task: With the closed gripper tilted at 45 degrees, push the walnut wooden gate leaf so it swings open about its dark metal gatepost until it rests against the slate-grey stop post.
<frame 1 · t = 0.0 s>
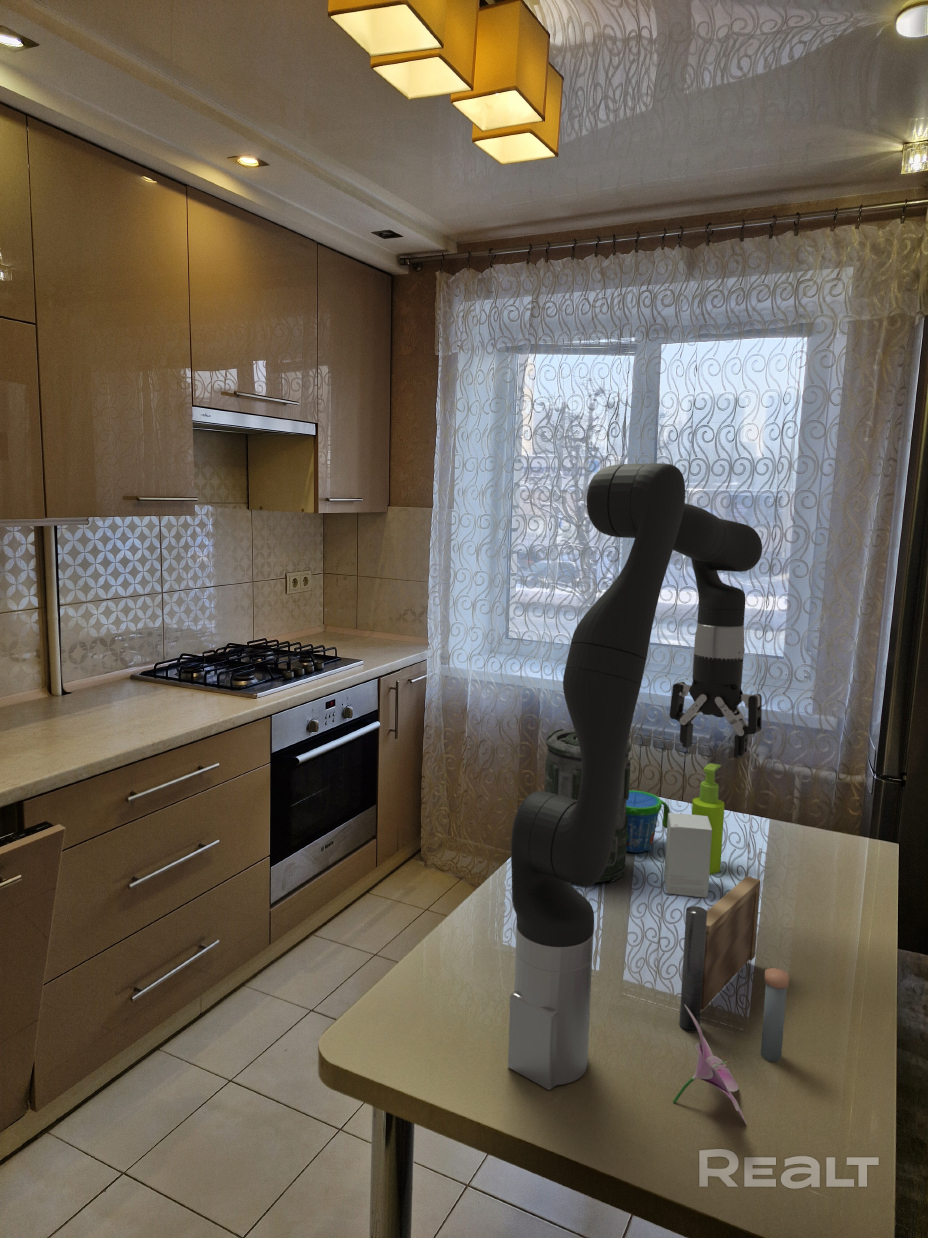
hand: (712, 752, 130), 29 cm above the table, tool pointing down, fingers open, 8 cm apart
lily: (710, 1106, 92), on the table
stop post: (770, 1055, 101), on the table
snack cup: (632, 847, 164), on the table
supplement box: (685, 888, 147), on the table
gatepost: (689, 1026, 106), on the table
gate: (726, 940, 114), point 7 cm above the table, hinge at 0.0°
soap dispenser: (705, 867, 156), on the table
canister: (582, 869, 154), on the table
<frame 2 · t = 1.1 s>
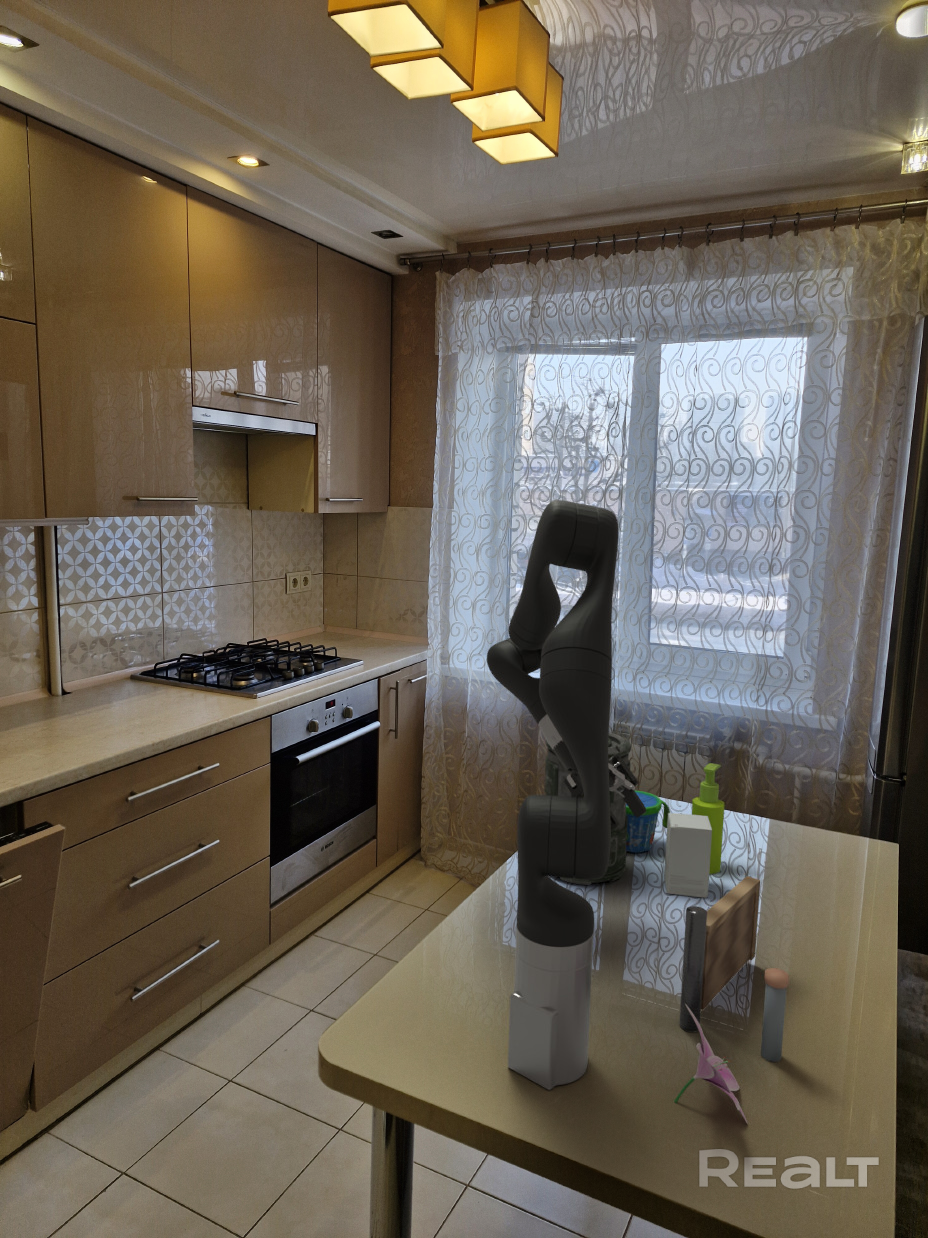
hand: (628, 821, 127), 19 cm above the table, tool tilted 45°, fingers open, 8 cm apart
nothing on the table moved.
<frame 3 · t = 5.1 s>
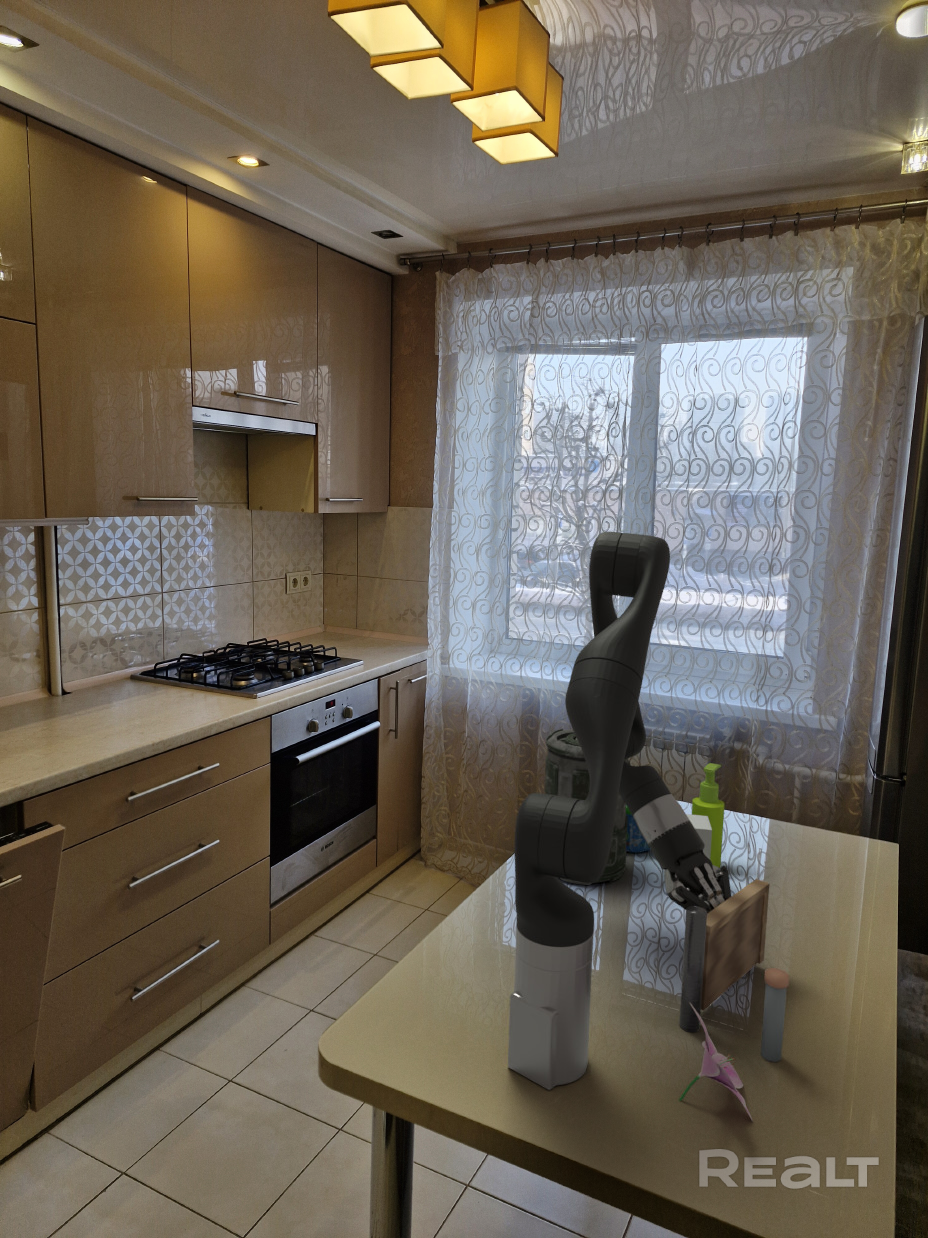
hand: (732, 938, 117), 6 cm above the table, tool tilted 45°, fingers closed
gate: (732, 942, 114), point 7 cm above the table, hinge at 3.9°, touching gripper
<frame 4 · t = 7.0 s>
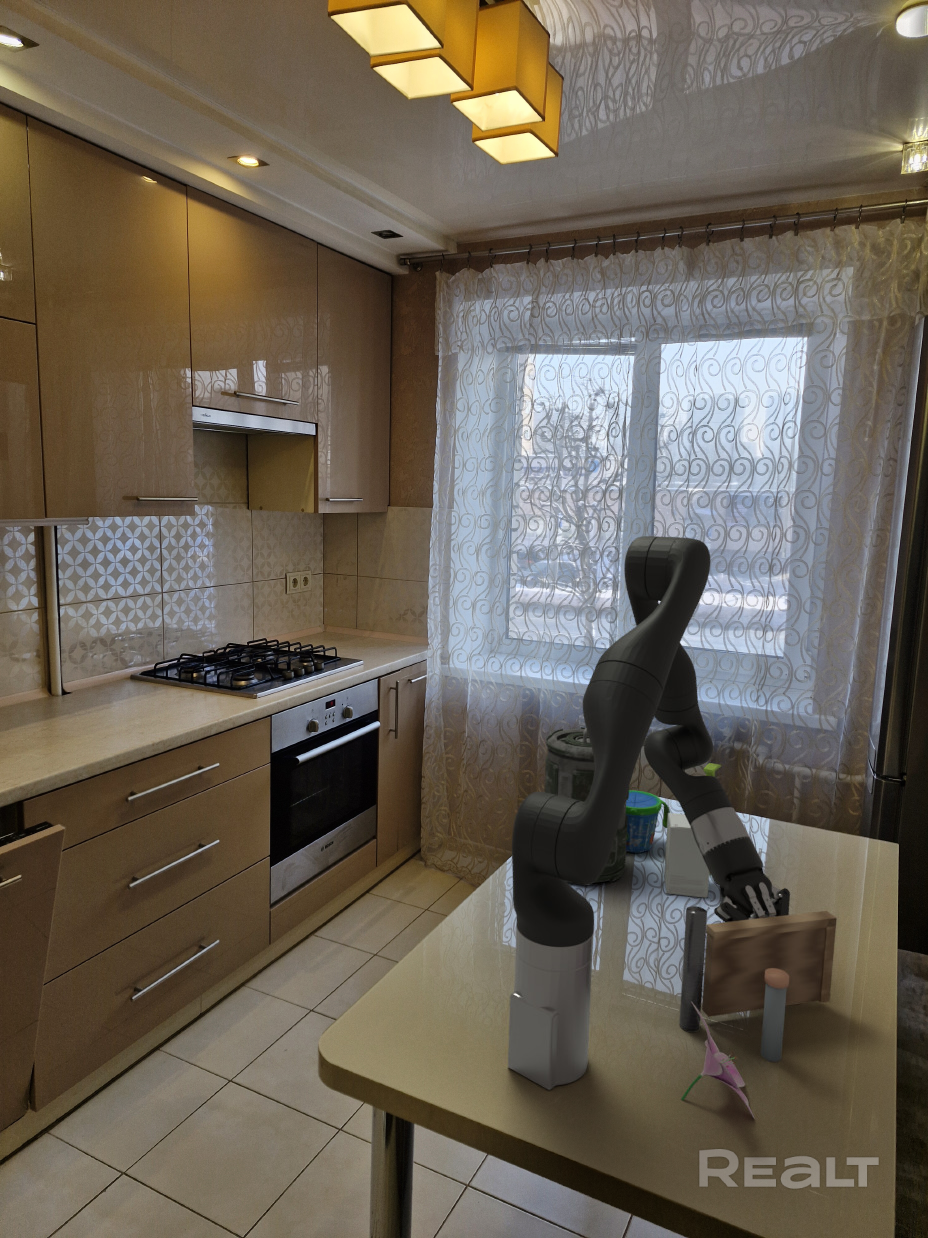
hand: (782, 965, 111), 6 cm above the table, tool tilted 45°, fingers closed
gate: (769, 963, 108), point 7 cm above the table, hinge at 35.9°, touching gripper
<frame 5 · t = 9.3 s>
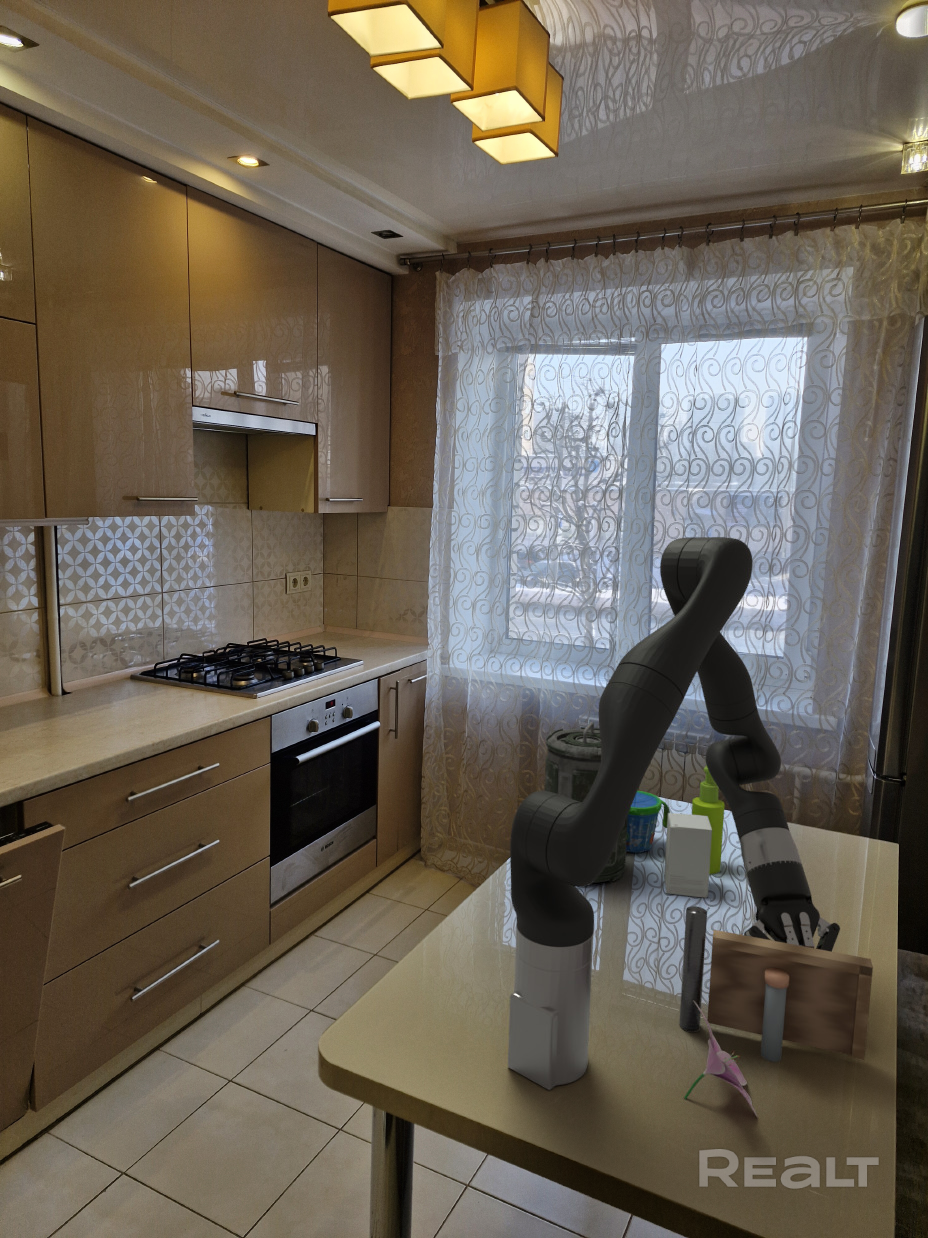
hand: (812, 1003, 102), 6 cm above the table, tool tilted 45°, fingers closed
gate: (786, 993, 101), point 7 cm above the table, hinge at 70.2°, touching gripper
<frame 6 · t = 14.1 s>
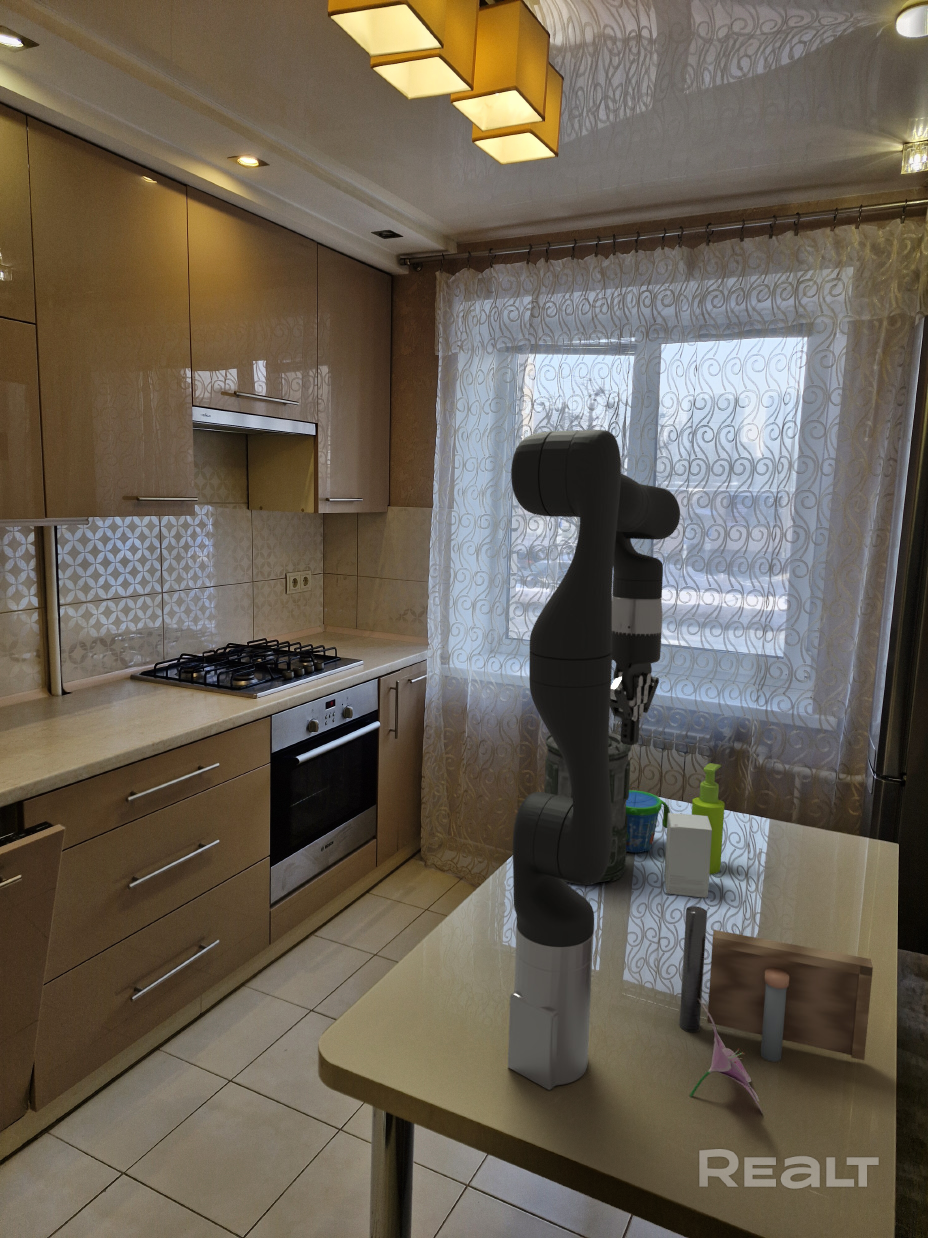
hand: (629, 743, 120), 33 cm above the table, tool pointing down, fingers closed
gate: (786, 993, 101), point 7 cm above the table, hinge at 70.2°
at the end: gate at +70° (first picture: +0°) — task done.
